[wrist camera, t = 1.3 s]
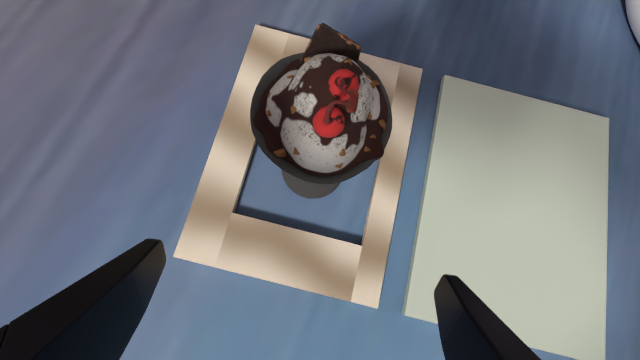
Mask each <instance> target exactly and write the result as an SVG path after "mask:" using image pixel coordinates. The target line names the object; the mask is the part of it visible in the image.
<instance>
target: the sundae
mask: <svg viewBox="0 0 640 360" xmlns="http://www.w3.org/2000/svg"><path fill="white" fill-rule="evenodd" d="M360 51H361V47H360V46H359V44H357V43H356V42H354V41H352V40H351V39H349V38H348V37H347V36H345V35H343V34H342V33H340V32H338V31H336V30H333V29H332V28H331V27H329V26H328V25H326V24H324V23H322V24H318V26H317V28H316V30H315V32H314V34H313V36H312V38H311V39H310V41H309V44H308V46H307V48H306V50H305V52H303V53H298V54H293V55H291V56H288V57H285V58H282V59H280V60H279V61H278V62H276V63H275V64H274V65H272V66H271V67H270V68H269V69H268V70H267V71H266V72H265V74H264V75H263V76H262V77H261V79H260V81H259V83H258V85H257V87H256V89H255V92H254V95H253V97H252V102H251V109H250V123H251V129H252V132H253V135H254V137H255V139H256V141H257V143H258V145H259V146H260V148H261V150H262V151H263V153H264V154H265V155H266V156H267V157H268V158H269V159H270V160H271V161H272V162H273V163H275V164H276V165H277V166H278V167H280V168H281V169H282V174H283V177H284V180H285V182H286V184H287V185H288V187H289V188H290V189H291V190H292V191H294V192H295V193H296V194H298V195H300V196H303V197H306V198H321V197H323V196H326V195H328V194H330V193H332V192H333V191H334V190H335V189H336V188H337V186H338V185H339V184H340V182H342V181H345V180H347V179H349V178H351V177H354V176H355V175H357V174H359V173H360V172H362V171H364V170H365V169H367V168H368V167H369V166H370V165H371V164H372V163H373V162H374V161H375V160H377V159H380V158H381V157H382V156H383V155H384V149H385V148H386V145H387V143H388V140H389V138H390V134H391V131H392V112H391V106H390V101H389V97H388V95H387V92H386V90H385V87H384V86H383V84H382V82H381V80H380V79H379V77H378V75H377V74H376V73H375V72H374V71H373V70H372V69H371V68H370V67H369V66H367V65H366V64H364V63H363V62H361V61H360V60H359V56H360Z"/></svg>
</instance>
